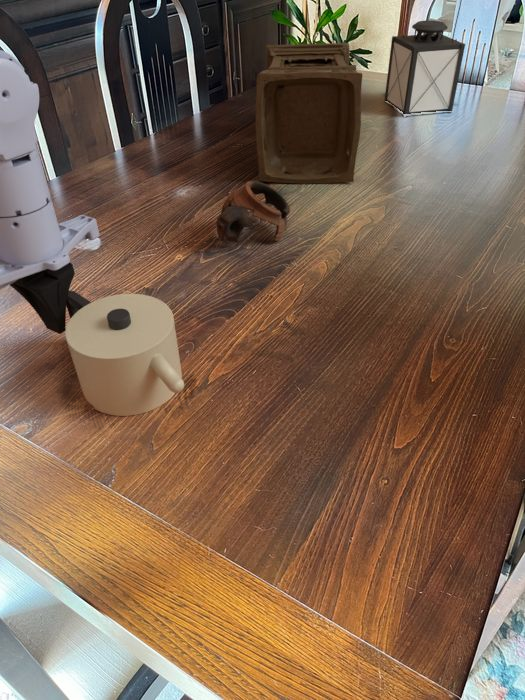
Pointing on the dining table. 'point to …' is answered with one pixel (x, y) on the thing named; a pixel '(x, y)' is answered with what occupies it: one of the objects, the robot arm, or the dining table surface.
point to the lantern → (424, 69)
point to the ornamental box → (308, 114)
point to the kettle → (124, 352)
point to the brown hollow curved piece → (244, 200)
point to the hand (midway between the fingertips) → (56, 329)
